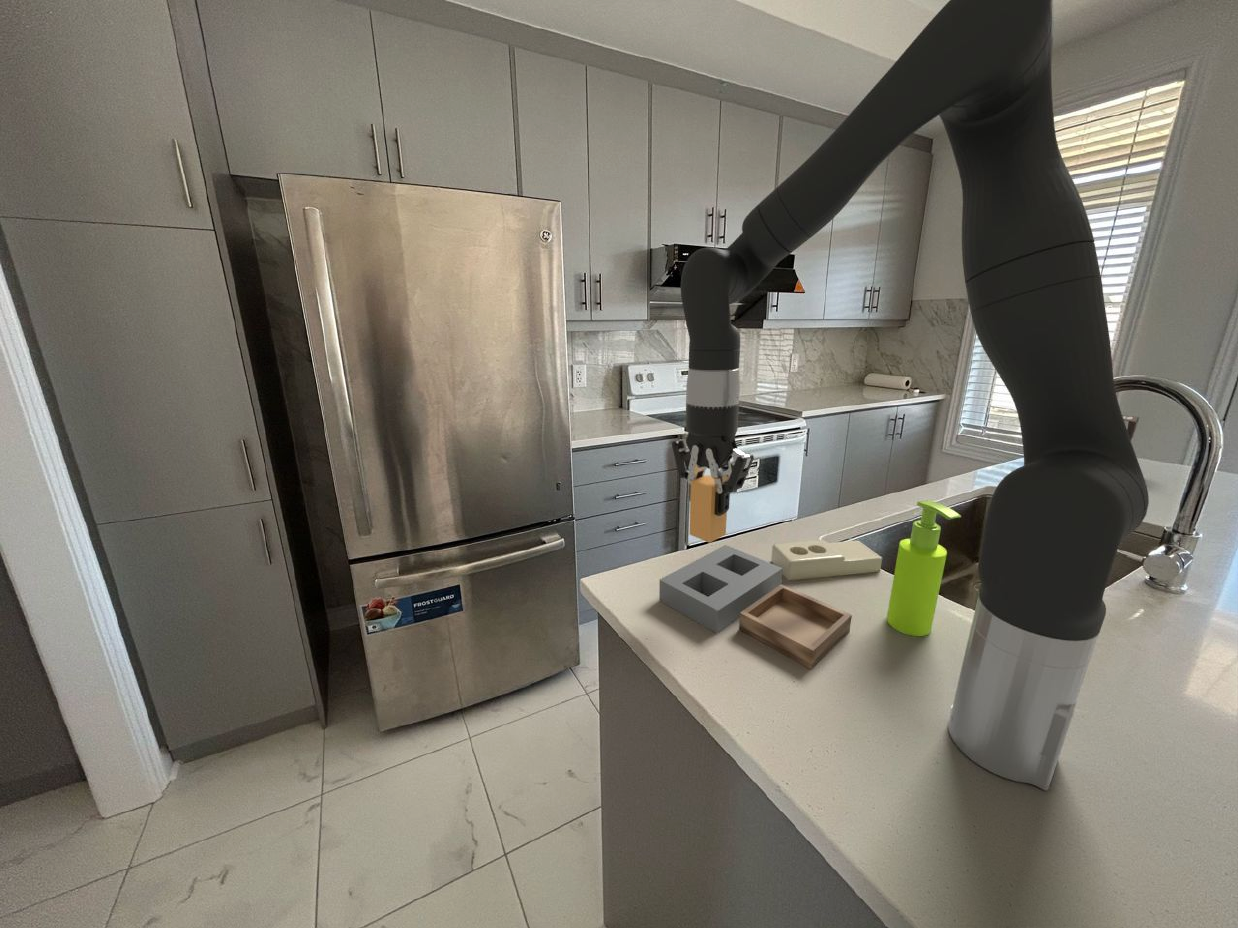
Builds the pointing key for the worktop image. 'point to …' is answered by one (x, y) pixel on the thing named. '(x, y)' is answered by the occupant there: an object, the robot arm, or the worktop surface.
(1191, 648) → the worktop surface
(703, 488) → the plug
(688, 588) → the cinder block
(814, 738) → the worktop surface
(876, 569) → the electrical outlet
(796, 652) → the tray
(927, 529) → the soap dispenser
